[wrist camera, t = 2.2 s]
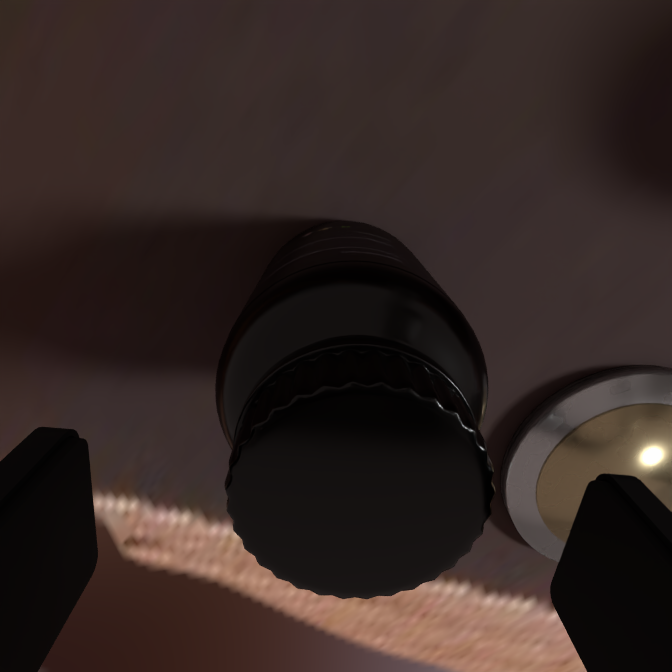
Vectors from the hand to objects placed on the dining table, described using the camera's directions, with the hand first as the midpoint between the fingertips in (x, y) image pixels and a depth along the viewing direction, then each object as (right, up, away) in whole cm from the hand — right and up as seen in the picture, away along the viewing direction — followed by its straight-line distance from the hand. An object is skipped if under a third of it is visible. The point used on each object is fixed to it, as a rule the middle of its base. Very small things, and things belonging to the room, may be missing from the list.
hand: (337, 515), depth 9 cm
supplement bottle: (0, +5, +11) cm, 12 cm away
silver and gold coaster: (+13, -3, +14) cm, 19 cm away
